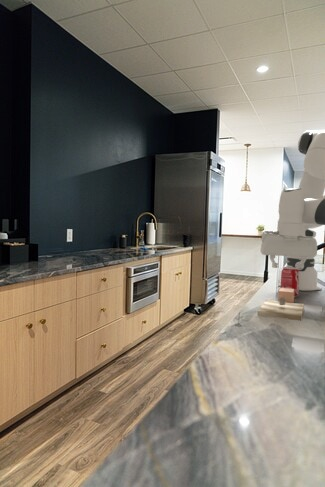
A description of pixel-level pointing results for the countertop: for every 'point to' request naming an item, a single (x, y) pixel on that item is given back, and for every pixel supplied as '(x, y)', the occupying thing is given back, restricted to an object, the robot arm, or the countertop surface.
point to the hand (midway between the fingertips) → (287, 268)
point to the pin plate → (282, 309)
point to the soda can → (290, 279)
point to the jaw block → (286, 294)
